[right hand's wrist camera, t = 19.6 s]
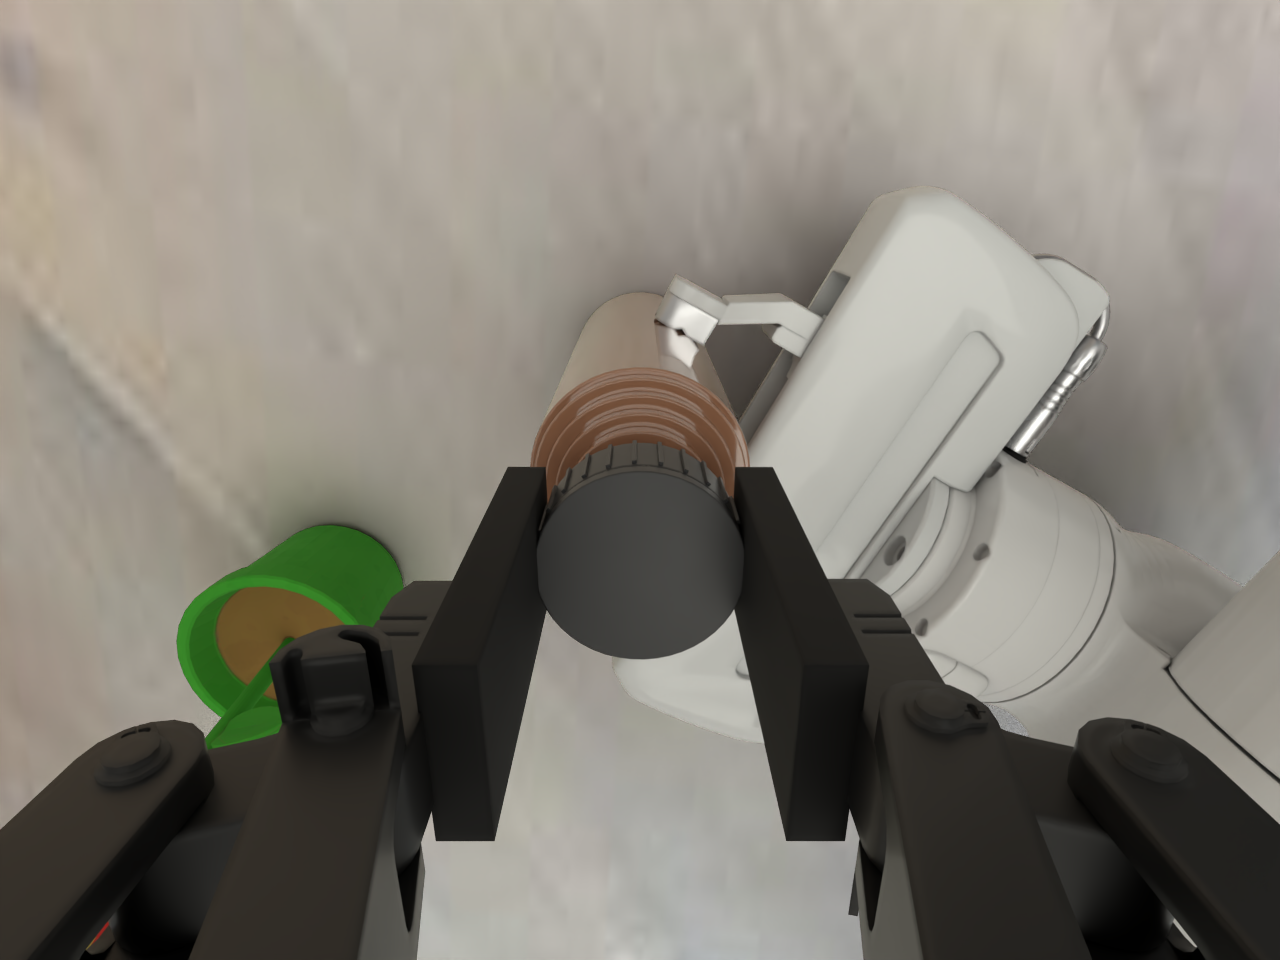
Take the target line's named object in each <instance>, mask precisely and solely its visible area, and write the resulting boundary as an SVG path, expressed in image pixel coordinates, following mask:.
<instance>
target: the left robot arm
mask: <svg viewBox="0 0 1280 960" xmlns="http://www.w3.org/2000/svg"><path fill="white" fill-rule="evenodd" d="M655 315H656V316H655V318H656V319H657V320H658V321H659V322H661V323H663V324H664V325H666V326H668V327H670V328H673V329H675V330H676V329H683V331H684V333H685V335H686V336H687V337H689V338H690V339H692V340H693V341H695V342H697V343H699V344H701V345H703V346H704V345H705V343H706V341H707V340H708V338H709V336H710V335H711V333H712V331H713V329H714V328H715V326H716V324H718V325H733V324H763V325H762V331H763V332H764V333H765V334H766V335H767V336H768V337H769V338H770V339H771V341H772V342H774V343H775V344H777V345H779V346H781V347H782V348H783V349H782V351H781V352H780V354H779V355H778V357H777V359H776V360H775V362H774V364H773V365H772V367H771V369H770V370H769V372H768V374H767V375H766V377H765V378H764V380H763V382H762V383H761V385H760V387H759V388H758V390H757V392H756V393H755V395H754V397H753V398H752V400H751V402H750V403H749V405H748V406H747V408H746V410H745V411H744V413H743V415H742V416H741V418H740V420H739V421H738V423H739V425H740V427H741V429H742V432H743V435H744V437H745V440H746V443H747V447H748V452H749V457H750V467H773V468H774V470H775V472H776V475H777V477H778V479H779V481H780V483H781V485H782V487H783V489H784V491H785V493H786V495H787V497H788V499H789V501H790V503H791V505H792V507H793V509H794V511H795V513H796V516H797V518H798V520H799V522H800V524H801V526H802V528H803V530H804V532H805V534H806V536H807V538H808V540H809V542H810V544H811V546H812V548H813V550H814V552H815V554H816V557H817V559H818V561H819V563H820V565H821V567H822V569H823V571H824V573H825V575H826V577H827V579H868V580H869V581H871V582H872V583H874V584H875V585H876V586H878V587H879V588H881V589H882V590H883V591H885V592H886V593H888V594H889V595H890V596H891V598H892V599H893V601H894V603H895V604H896V606H897V607H898V609H899V611H900V612H901V614H902V618H904V619H905V620H906V622H907V623H908V625H909V627H910V628H911V633H912V634H914V635H915V636H916V638H917V639H918V641H919V643H920V644H921V646H922V647H923V649H924V651H925V652H926V654H927V655H928V657H929V659H930V660H931V662H932V663H933V665H934V667H935V668H936V670H937V671H938V673H939V675H940V676H941V678H942V679H943V681H944V683H945V684H947V685H951V686H953V687H955V688H958V689H960V690H962V691H964V692H966V693H969V694H971V695H972V696H974V697H975V698H976V699H978V700H979V701H980V702H982V703H985V704H990V705H994V706H997V707H999V708H1001V709H1003V710H1005V711H1007V712H1009V713H1010V714H1012V715H1013V716H1014V717H1015V718H1016V719H1017V720H1018V721H1019V722H1020V723H1021V724H1022V725H1023V726H1024V727H1025V729H1026V730H1027V732H1028V735H1029V737H1031V738H1035V739H1040V740H1044V741H1049V742H1054V743H1058V744H1063V745H1068V746H1072V747H1074V745H1075V741H1076V738H1077V734H1078V730H1079V729H1080V728H1081V727H1082V726H1084V725H1085V724H1086V723H1087V722H1088V721H1090V720H1095V719H1100V718H1105V717H1112V718H1123V719H1132V720H1136V721H1140V722H1143V723H1146V724H1150V725H1153V726H1156V727H1159V728H1161V729H1163V730H1165V731H1167V732H1169V733H1171V734H1173V735H1175V736H1177V737H1179V738H1181V739H1184V740H1185V741H1186V742H1188V743H1189V744H1191V745H1192V746H1193V747H1195V748H1196V749H1197V750H1199V751H1200V752H1201V753H1203V754H1204V755H1205V756H1207V757H1208V758H1209V759H1210V760H1211V761H1212V762H1213V763H1214V764H1215V765H1216V766H1218V767H1219V768H1220V769H1221V770H1222V771H1223V772H1224V773H1225V774H1226V775H1227V776H1228V777H1229V778H1230V779H1232V780H1233V781H1234V782H1235V783H1236V784H1237V785H1238V786H1239V787H1240V788H1241V789H1242V790H1243V791H1244V792H1246V793H1247V794H1248V795H1249V796H1250V797H1251V798H1252V799H1253V800H1254V801H1255V802H1256V803H1257V804H1258V805H1260V806H1261V807H1262V808H1263V809H1264V810H1265V811H1266V812H1267V813H1268V814H1269V815H1270V816H1271V817H1273V818H1274V819H1275V820H1276V821H1277V822H1278V823H1279V824H1280V550H1279V551H1278V552H1277V553H1276V554H1275V555H1274V556H1273V557H1272V558H1271V559H1270V561H1269V562H1268V563H1267V564H1266V565H1265V566H1264V567H1263V568H1262V569H1261V570H1260V571H1259V572H1258V573H1257V574H1256V575H1255V576H1254V577H1253V578H1252V579H1251V580H1250V581H1249V582H1248V583H1247V584H1246V585H1245V586H1244V587H1243V586H1241V585H1240V584H1238V583H1237V582H1235V581H1234V580H1232V579H1231V578H1229V577H1228V576H1226V575H1225V574H1223V573H1221V572H1220V571H1218V570H1217V569H1215V568H1213V567H1212V566H1210V565H1208V564H1207V563H1205V562H1203V561H1202V560H1200V559H1198V558H1197V557H1195V556H1193V555H1192V554H1190V553H1188V552H1186V551H1185V550H1183V549H1181V548H1179V547H1177V546H1175V545H1173V544H1171V543H1169V542H1167V541H1165V540H1163V539H1160V538H1157V537H1153V536H1150V535H1147V534H1142V533H1137V532H1131V531H1127V530H1125V529H1123V528H1122V527H1120V526H1119V524H1118V523H1117V522H1116V521H1115V519H1114V518H1113V517H1112V516H1111V515H1110V514H1109V513H1108V512H1107V511H1106V510H1105V509H1104V508H1103V507H1102V506H1101V505H1099V504H1098V503H1097V502H1095V501H1094V500H1092V499H1091V498H1089V497H1088V496H1086V495H1084V494H1083V493H1081V492H1079V491H1077V490H1075V489H1073V488H1072V487H1070V486H1068V485H1066V484H1065V483H1063V482H1061V481H1059V480H1058V479H1056V478H1054V477H1052V476H1050V475H1049V474H1047V473H1045V472H1043V471H1041V470H1040V469H1038V468H1036V467H1034V466H1032V465H1031V464H1029V463H1027V461H1026V458H1027V457H1028V456H1029V454H1030V453H1031V452H1032V451H1033V449H1034V448H1035V447H1036V445H1037V444H1038V443H1039V442H1040V440H1041V439H1042V438H1043V436H1044V435H1045V434H1046V432H1047V431H1048V430H1049V429H1050V427H1051V426H1052V425H1053V423H1054V422H1055V420H1056V419H1057V417H1058V414H1059V413H1060V412H1061V410H1062V409H1063V408H1062V406H1064V405H1065V404H1066V402H1067V399H1069V398H1070V396H1071V395H1072V392H1074V391H1075V390H1076V389H1077V387H1078V386H1079V385H1080V384H1081V382H1082V381H1083V382H1085V381H1086V380H1087V379H1088V378H1089V377H1090V375H1091V374H1092V373H1093V372H1094V371H1095V369H1096V368H1097V366H1098V365H1099V364H1100V362H1101V360H1102V358H1103V356H1104V355H1105V352H1106V350H1107V345H1106V344H1104V343H1103V342H1101V341H1102V339H1103V337H1104V335H1105V333H1106V330H1107V327H1108V324H1109V318H1110V305H1109V295H1108V293H1107V291H1106V290H1105V288H1104V287H1103V286H1102V285H1101V284H1100V283H1099V282H1098V281H1097V280H1096V279H1095V278H1094V277H1092V276H1090V275H1089V274H1087V273H1086V272H1084V271H1082V270H1081V269H1079V268H1078V267H1076V266H1075V265H1073V264H1071V263H1070V262H1068V261H1067V260H1065V259H1063V258H1061V257H1058V256H1056V255H1050V254H1034V255H1031V254H1030V253H1029V252H1028V251H1026V250H1025V249H1024V248H1023V247H1022V246H1021V245H1020V244H1019V243H1018V242H1016V241H1015V240H1014V239H1013V238H1012V237H1011V236H1010V235H1008V234H1007V233H1006V232H1005V231H1004V230H1002V229H1001V228H1000V227H999V226H997V225H996V224H995V223H994V222H992V221H991V220H990V219H989V218H987V217H986V216H985V215H983V214H982V213H981V212H979V211H978V210H977V209H975V208H974V207H972V206H971V205H970V204H968V203H967V202H965V201H964V200H962V199H961V198H959V197H958V196H956V195H955V194H953V193H951V192H949V191H947V190H944V189H941V188H937V187H931V186H916V187H910V188H905V189H901V190H897V191H893V192H890V193H886V194H883V195H881V196H879V197H877V198H876V199H875V200H873V202H872V203H871V204H870V206H869V207H868V209H867V211H866V212H865V214H864V216H863V217H862V219H861V220H860V222H859V224H858V225H857V227H856V229H855V230H854V232H853V234H852V235H851V237H850V239H849V240H848V242H847V243H846V245H845V247H844V248H843V250H842V252H841V253H840V255H839V257H838V258H837V260H836V262H835V263H834V265H833V267H832V268H831V270H830V271H829V273H828V275H827V276H826V278H825V280H824V281H823V283H822V285H821V286H820V288H819V290H818V291H817V293H816V295H815V296H814V298H813V299H812V301H811V303H810V304H809V306H808V308H806V307H804V306H802V305H801V304H799V303H797V302H795V301H793V300H792V299H790V298H788V297H786V296H784V295H783V294H781V293H768V294H744V295H723V297H722V298H719V297H718V296H716V295H714V294H712V293H710V292H709V291H707V290H705V289H703V288H701V287H700V286H698V285H696V284H694V283H693V282H691V281H689V280H687V279H685V278H683V277H681V276H679V275H676V274H675V276H674V278H673V280H672V282H671V284H670V286H669V287H668V289H667V291H666V293H665V295H664V297H663V299H662V301H661V303H660V305H659V307H658V309H657V311H656V313H655ZM1093 325H1094V326H1093ZM1092 326H1093V328H1092V331H1091V333H1090V335H1087V333H1088V331H1089V330H1090V329H1091V327H1092ZM612 665H613V670H614V672H615V674H616V676H617V678H618V680H619V682H620V683H621V685H622V687H623V688H624V690H625V691H626V693H627V694H628V695H629V696H631V697H632V698H634V699H635V700H637V701H638V702H640V703H642V704H644V705H647V706H649V707H651V708H653V709H655V710H657V711H660V712H662V713H664V714H667V715H669V716H672V717H674V718H677V719H679V720H682V721H684V722H687V723H689V724H692V725H695V726H698V727H700V728H703V729H706V730H709V731H712V732H715V733H718V734H721V735H724V736H727V737H730V738H734V739H737V740H741V741H745V742H751V743H763V744H764V739H763V735H762V731H761V726H760V722H759V717H758V713H757V708H756V704H755V699H754V695H753V691H752V686H751V682H750V677H749V673H748V668H747V664H746V660H745V655H744V651H743V646H742V642H741V637H740V633H739V629H738V624H737V620H736V615H735V611H734V610H733V612H732V614H731V615H730V616H729V618H728V619H727V620H726V621H725V623H724V624H723V625H722V626H721V627H720V628H719V629H718V630H717V631H716V632H715V633H714V634H712V635H711V636H710V637H708V638H707V639H706V640H704V641H703V642H701V643H699V644H698V645H696V646H694V647H692V648H690V649H688V650H685V651H683V652H681V653H677V654H674V655H671V656H667V657H662V658H656V659H645V660H641V659H625V658H618V657H614V656H612ZM1173 923H1174V924H1175V925H1176V926H1177V928H1178V929H1179V930H1180V931H1181V933H1182V934H1183V935H1184V936H1185V938H1186V939H1187V940H1188V941H1189V942H1190V943H1191V944H1192V945H1193V946H1195V947H1197V946H1196V945H1195V943H1194V942H1193V941H1192V940H1191V938H1190V937H1189V936H1188V935H1187V933H1186V932H1185V931H1184V929H1183V928H1182V927H1181V926H1180V924H1179V923H1178V922H1177V921H1176V919H1175V918H1174V921H1173Z"/></svg>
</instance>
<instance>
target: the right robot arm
mask: <svg viewBox="0 0 1280 960" xmlns="http://www.w3.org/2000/svg"><path fill="white" fill-rule="evenodd" d="M733 499H734V502H735V506H736V509H737V512H738V515H739V518H740V522H741V523H740V524H738V525H739V528H740V532H741V535H742V538H743V542H744V565H743V581H742V594H741V596H740V599H739V601H738V603H737V605H736V607H735V609H734V611H735V615H736V620H737V624H738V629H739V633H740V637H741V642H742V646H743V651H744V655H745V660H746V664H747V668H748V673H749V677H750V682H751V686H752V691H753V695H754V699H755V704H756V708H757V713H758V717H759V722H760V726H761V731H762V735H763V739H764V744H765V748H766V753H767V757H768V762H769V766H770V770H771V775H772V779H773V784H774V788H775V793H776V797H777V801H778V806H779V810H780V815H781V819H782V824H783V828H784V832H785V837H786V841H845V837H846V829H847V822H848V815H849V808H850V811H851V814H852V817H853V820H854V823H855V826H856V829H857V832H858V835H859V838H860V840H859V847H858V853H857V860H856V867H855V873H854V880H853V887H852V893H851V900H850V907H849V914H848V915H854V916H858V911H859V917H860V928H861V938H862V948H863V959H864V960H1280V824H1279V823H1278V822H1277V821H1276V820H1275V819H1274V818H1273V817H1271V816H1270V815H1269V814H1268V813H1267V812H1266V811H1265V810H1264V809H1263V808H1262V807H1261V806H1260V805H1258V804H1257V803H1256V802H1255V801H1254V800H1253V799H1252V798H1251V797H1250V796H1249V795H1248V794H1247V793H1246V792H1244V791H1243V790H1242V789H1241V788H1240V787H1239V786H1238V785H1237V784H1236V783H1235V782H1234V781H1233V780H1232V779H1230V778H1229V777H1228V776H1227V775H1226V774H1225V773H1224V772H1223V771H1222V770H1221V769H1220V768H1219V767H1218V766H1216V765H1215V764H1214V763H1213V762H1212V761H1211V760H1210V759H1209V758H1208V757H1207V756H1205V755H1204V754H1203V753H1201V752H1200V751H1199V750H1197V749H1196V748H1195V747H1193V746H1192V745H1191V744H1189V743H1188V742H1186V741H1185V740H1184V739H1181V738H1179V737H1177V736H1175V735H1173V734H1171V733H1169V732H1167V731H1165V730H1163V729H1161V728H1159V727H1156V726H1153V725H1150V724H1146V723H1143V722H1140V721H1136V720H1132V719H1123V718H1112V717H1105V718H1100V719H1095V720H1090V721H1088V722H1087V723H1086V724H1085V725H1084V726H1082V727H1081V728H1080V729H1079V730H1078V734H1077V738H1076V741H1075V745H1074V747H1072V746H1068V745H1063V744H1058V743H1054V742H1049V741H1044V740H1040V739H1035V738H1031V737H1026V736H1022V735H1019V734H1015V733H1012V732H1008V731H1005V730H1003V729H1001V728H1000V726H999V723H998V721H997V720H996V718H995V717H994V715H993V714H992V713H991V711H990V710H989V708H988V707H987V706H985V705H984V704H983V703H982V702H980V701H979V700H978V699H976V698H975V697H974V696H972V695H971V694H969V693H966V692H964V691H962V690H960V689H958V688H955V687H953V686H951V685H947V684H945V683H944V681H943V679H942V678H941V676H940V675H939V673H938V671H937V670H936V668H935V667H934V665H933V663H932V662H931V660H930V659H929V657H928V655H927V654H926V652H925V651H924V649H923V647H922V646H921V644H920V643H919V641H918V639H917V638H916V636H915V635H914V634H912V633H911V628H910V627H909V625H908V623H907V622H906V620H905V619H904V618H902V614H901V612H900V611H899V609H898V607H897V606H896V604H895V603H894V601H893V599H892V598H891V596H890V595H889V594H888V593H886V592H885V591H883V590H882V589H881V588H879V587H878V586H876V585H875V584H874V583H872V582H871V581H869V580H868V579H827V577H826V575H825V573H824V571H823V569H822V567H821V565H820V563H819V561H818V559H817V557H816V554H815V552H814V550H813V548H812V546H811V544H810V542H809V540H808V538H807V536H806V534H805V532H804V530H803V528H802V526H801V524H800V522H799V520H798V518H797V516H796V513H795V511H794V509H793V507H792V505H791V503H790V501H789V499H788V497H787V495H786V493H785V491H784V489H783V487H782V485H781V483H780V481H779V479H778V477H777V475H776V472H775V470H774V468H773V467H735V478H734V497H733ZM546 505H548V501H547V481H546V467H508V468H507V470H506V472H505V474H504V476H503V478H502V480H501V482H500V484H499V486H498V489H497V491H496V493H495V495H494V497H493V499H492V501H491V503H490V505H489V507H488V509H487V511H486V513H485V515H484V517H483V519H482V521H481V523H480V525H479V528H478V530H477V532H476V534H475V536H474V538H473V540H472V542H471V544H470V546H469V548H468V550H467V552H466V554H465V556H464V558H463V560H462V562H461V564H460V567H459V569H458V571H457V573H456V575H455V577H454V579H453V581H413V582H412V583H411V584H409V585H408V586H407V587H405V588H404V589H402V590H401V591H400V592H398V593H397V594H395V595H394V596H393V597H391V599H390V600H389V602H388V604H387V605H386V607H385V609H384V610H383V612H382V613H381V615H380V620H377V621H376V623H375V625H374V626H373V627H370V626H366V625H338V626H333V627H328V628H323V629H318V630H316V631H313V632H311V633H308V634H306V635H303V636H301V637H298V638H296V639H295V640H293V641H292V642H290V643H289V644H287V645H286V646H284V647H283V648H281V649H280V650H279V651H278V652H277V653H276V655H275V656H274V657H273V658H272V660H271V661H270V662H269V667H270V671H271V676H272V680H273V685H274V689H275V694H276V698H277V702H278V707H279V711H280V716H281V720H282V724H281V727H280V729H279V732H278V733H276V734H273V735H269V736H266V737H262V738H259V739H255V740H250V741H245V742H241V743H236V744H232V745H227V746H222V747H218V748H213V749H209V750H208V748H207V745H206V741H205V737H204V734H203V732H202V731H201V730H199V729H198V728H197V727H196V726H195V725H194V724H192V723H187V722H182V721H177V720H169V721H158V722H150V723H146V724H142V725H139V726H136V727H132V728H129V729H126V730H123V731H121V732H119V733H117V734H115V735H113V736H111V737H109V738H107V739H105V740H103V741H101V742H99V743H97V744H96V745H94V746H93V747H92V748H90V749H89V750H88V751H86V752H85V753H84V754H82V755H81V756H80V757H78V758H77V759H76V760H75V761H73V762H72V763H71V764H70V765H69V766H68V767H67V768H66V769H65V770H64V771H63V772H62V773H61V774H60V775H58V776H57V777H56V778H55V779H54V780H53V781H52V782H51V783H50V784H49V785H48V786H47V787H46V788H45V789H44V790H42V791H41V792H40V793H39V794H38V795H37V796H36V797H35V798H34V799H33V800H32V801H31V802H30V803H29V804H27V805H26V806H25V807H24V808H23V809H22V810H21V811H20V812H19V813H18V814H17V815H16V816H15V817H14V818H12V819H11V820H10V821H9V822H8V823H7V824H6V825H5V826H4V827H3V828H2V829H1V830H0V960H417V950H418V940H419V929H420V919H421V909H422V898H423V888H424V877H425V867H424V860H423V853H422V847H421V841H422V838H423V835H424V832H425V829H426V826H427V823H428V820H429V817H430V814H431V811H432V816H433V823H434V831H435V838H436V841H495V836H496V832H497V827H498V823H499V818H500V814H501V810H502V805H503V801H504V796H505V792H506V787H507V783H508V778H509V774H510V770H511V765H512V761H513V756H514V752H515V747H516V743H517V739H518V734H519V730H520V725H521V721H522V716H523V712H524V707H525V703H526V699H527V694H528V690H529V685H530V681H531V676H532V672H533V668H534V663H535V659H536V654H537V650H538V645H539V641H540V636H541V632H542V628H543V623H544V619H545V614H546V610H547V609H546V608H545V606H544V604H543V602H542V600H541V598H540V595H539V585H538V568H537V550H536V545H537V542H538V538H539V535H540V534H539V527H540V524H541V521H542V517H543V514H544V511H545V508H546ZM1174 918H1175V919H1176V921H1177V922H1178V923H1179V924H1180V926H1181V927H1182V928H1183V929H1184V931H1185V932H1186V933H1187V935H1188V936H1189V937H1190V938H1191V940H1192V941H1193V942H1194V943H1195V945H1196V946H1197V947H1195V946H1193V945H1192V944H1191V943H1190V942H1189V941H1188V940H1187V939H1186V938H1185V936H1184V935H1183V934H1182V933H1181V931H1180V930H1179V929H1178V928H1177V926H1176V925H1175V924H1174V923H1173V921H1174ZM107 922H108V923H109V925H108V926H107V928H106V929H105V930H104V932H103V933H102V934H101V935H100V937H99V938H98V939H97V940H96V941H95V942H94V943H93V944H92V945H91V946H90V947H89V948H87V947H88V946H89V945H90V943H91V942H92V941H93V940H94V938H95V937H96V936H97V935H98V933H99V932H100V931H101V929H102V928H103V927H104V926H105V924H106V923H107Z"/></svg>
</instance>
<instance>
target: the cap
mask: <svg viewBox="0 0 1280 960" xmlns="http://www.w3.org/2000/svg"><path fill="white" fill-rule="evenodd" d="M740 523H741V522H740V518H739V515H738V512H737V509H736V506H735V502H734V499H733V497H732V496H730V497H729V495H728V494H727V492H726V490H725V487H724V484H723V480H722V478H721V477H718V478H717V477H716V476H715V475H714V474H713V473H712V472H711V470H710V469H709V468H707V465H706V462H705V461H703V460H702V461H701V462H700V461H699V460H697V459H695V458H694V457H692V456H690V455H688V454H687V453H686V451H685V449H682V448H681V450H677V449H675V448H671V447H668V446H664V445H662V442H657V444H652V443H637V440H633V441H632V443H629V444H622V445H617V446H613V445H612V444H610V445H608V448H606V449H604V450H601V451H598V452H596V453H594V454H592V455H590V454H589V453H588V454H586V456H585V459H584V460H582V461H581V462H580V463H578V464H577V465H576V466H575V467H573V468H572V469H571V468H570V467H569V468H568V469H567V471H566V475H565V477H564V478H563V479H562V480H561V481H560V483H559V484H558V486H556V485H554V486H553V488H552V492H551V495H550V498H549V502H548V505H546V508H545V511H544V514H543V517H542V521H541V524H540V527H539V534H540V535H539V538H538V542H537V545H536V550H537V568H538V585H539V595H540V598H541V600H542V602H543V604H544V606H545V608H546V609H547V611H548V612H549V614H550V615H551V617H552V618H553V620H554V621H555V622H556V623H557V624H558V625H559V626H560V627H561V628H562V629H563V630H564V631H565V632H566V633H567V634H568V635H570V636H571V637H572V638H574V639H575V640H577V641H578V642H580V643H581V644H583V645H585V646H587V647H589V648H591V649H593V650H595V651H598V652H600V653H603V654H606V655H610V656H614V657H618V658H625V659H641V660H645V659H656V658H662V657H667V656H671V655H674V654H677V653H681V652H683V651H685V650H688V649H690V648H692V647H694V646H696V645H698V644H699V643H701V642H703V641H704V640H706V639H707V638H708V637H710V636H711V635H712V634H714V633H715V632H716V631H717V630H718V629H719V628H720V627H721V626H722V625H723V624H724V623H725V621H726V620H727V619H728V618H729V616H730V615H731V614H732V612H733V610H734V609H735V607H736V605H737V603H738V601H739V599H740V596H741V594H742V581H743V565H744V542H743V538H742V535H741V532H740V528H739V525H738V524H740Z"/></svg>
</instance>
